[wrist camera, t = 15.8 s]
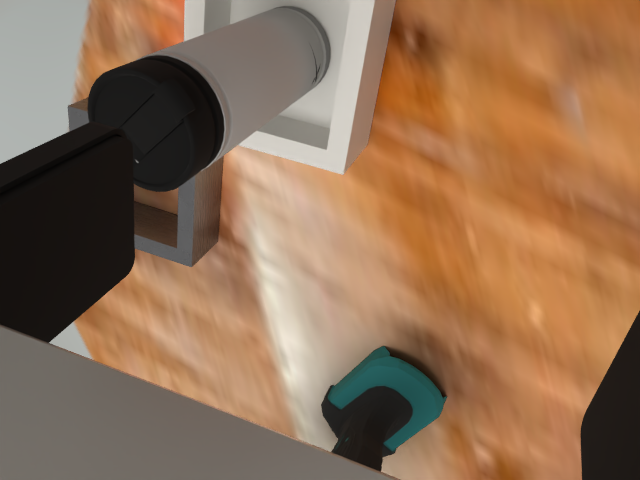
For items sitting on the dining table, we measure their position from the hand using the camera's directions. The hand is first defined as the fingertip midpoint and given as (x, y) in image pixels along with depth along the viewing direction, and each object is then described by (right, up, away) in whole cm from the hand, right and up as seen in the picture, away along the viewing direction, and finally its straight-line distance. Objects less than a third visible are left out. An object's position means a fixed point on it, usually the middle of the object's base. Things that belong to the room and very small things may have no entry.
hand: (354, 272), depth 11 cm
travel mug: (-3, +15, +34) cm, 37 cm away
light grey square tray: (-2, +16, +36) cm, 39 cm away
